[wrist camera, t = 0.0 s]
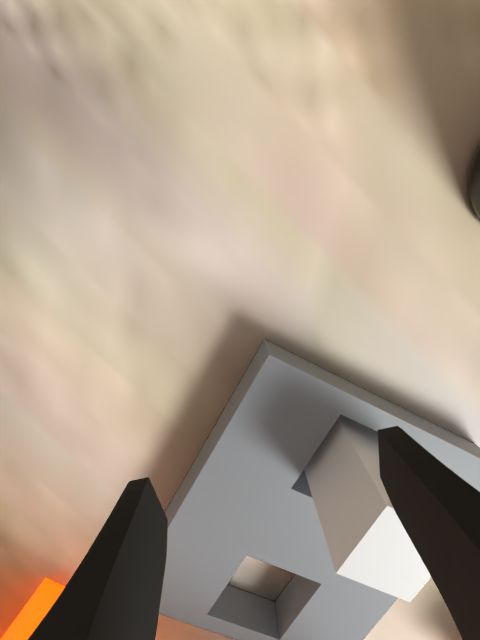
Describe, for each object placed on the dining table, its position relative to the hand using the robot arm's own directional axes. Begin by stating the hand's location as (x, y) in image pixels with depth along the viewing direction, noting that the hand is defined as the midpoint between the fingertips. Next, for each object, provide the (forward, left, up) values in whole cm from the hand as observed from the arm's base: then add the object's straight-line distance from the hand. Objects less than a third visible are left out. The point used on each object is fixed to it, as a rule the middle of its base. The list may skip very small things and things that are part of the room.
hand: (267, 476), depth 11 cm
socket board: (-8, -8, -11) cm, 16 cm away
